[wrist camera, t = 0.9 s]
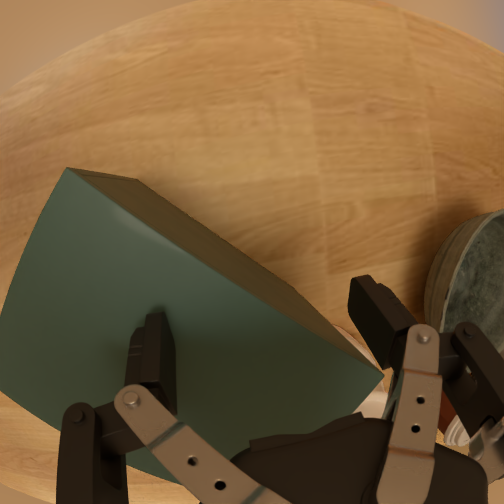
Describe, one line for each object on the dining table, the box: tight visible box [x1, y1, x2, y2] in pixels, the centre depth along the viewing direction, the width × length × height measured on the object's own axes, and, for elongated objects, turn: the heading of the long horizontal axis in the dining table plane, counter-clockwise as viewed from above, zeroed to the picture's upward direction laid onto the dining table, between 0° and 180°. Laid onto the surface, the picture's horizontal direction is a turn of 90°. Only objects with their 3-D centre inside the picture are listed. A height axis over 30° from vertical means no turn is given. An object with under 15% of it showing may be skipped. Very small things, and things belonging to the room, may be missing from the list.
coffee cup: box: [438, 389, 470, 446], centre depth 36 cm, size 9×9×12 cm
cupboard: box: [0, 167, 384, 485], centre depth 22 cm, size 13×19×17 cm
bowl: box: [424, 209, 504, 373], centre depth 32 cm, size 21×21×10 cm
